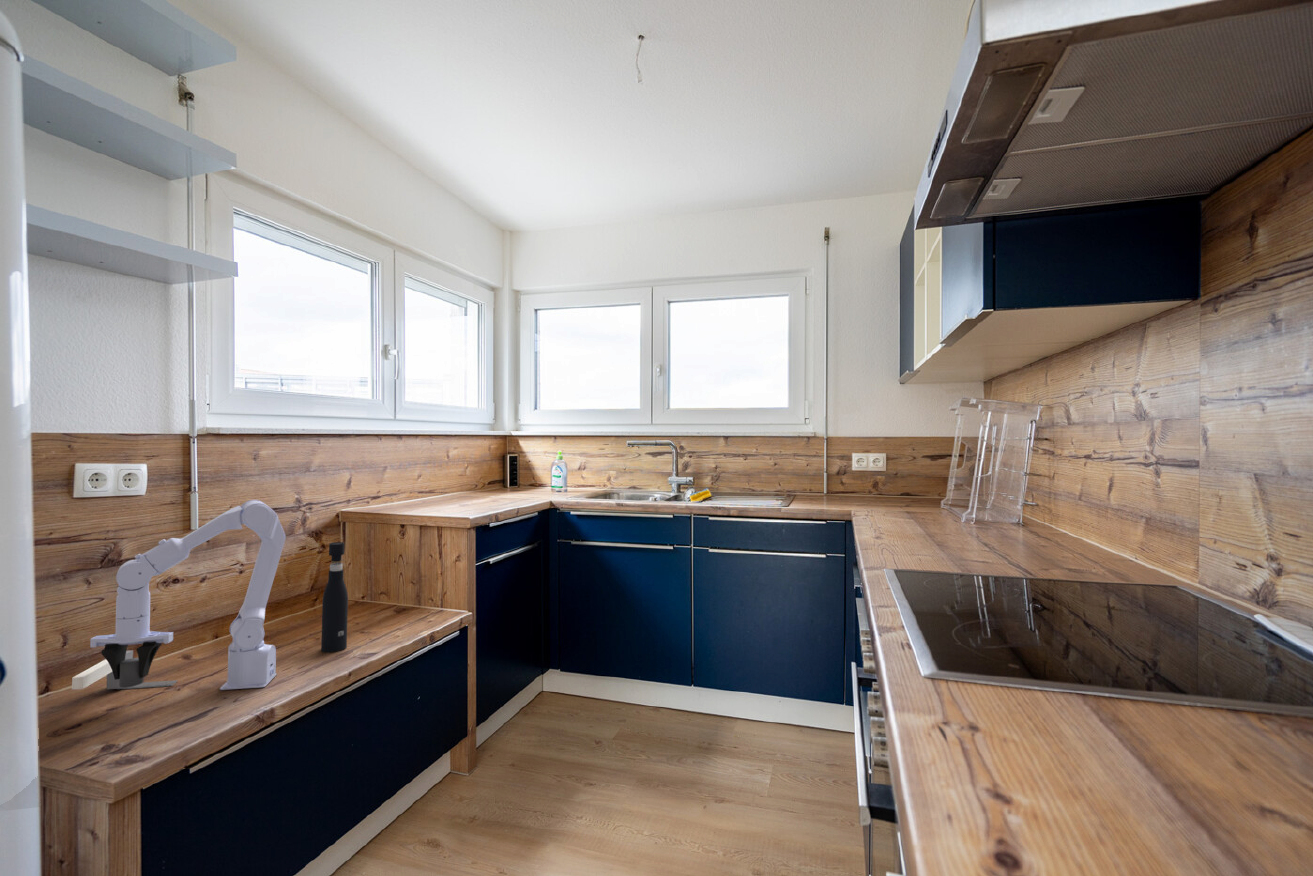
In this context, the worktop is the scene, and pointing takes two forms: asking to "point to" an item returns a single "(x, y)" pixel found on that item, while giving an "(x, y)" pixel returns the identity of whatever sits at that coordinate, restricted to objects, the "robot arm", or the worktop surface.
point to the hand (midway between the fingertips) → (131, 677)
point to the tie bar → (98, 675)
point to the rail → (152, 684)
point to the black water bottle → (335, 604)
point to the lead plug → (129, 673)
